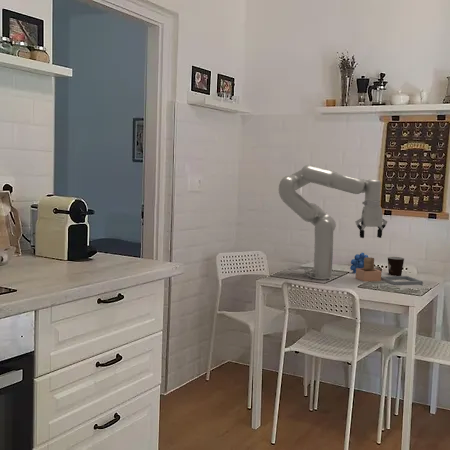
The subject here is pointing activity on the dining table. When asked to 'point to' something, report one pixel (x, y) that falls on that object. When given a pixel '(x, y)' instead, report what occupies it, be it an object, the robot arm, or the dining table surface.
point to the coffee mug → (395, 265)
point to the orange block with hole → (368, 275)
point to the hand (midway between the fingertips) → (370, 237)
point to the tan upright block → (368, 264)
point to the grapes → (358, 262)
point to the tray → (410, 281)
